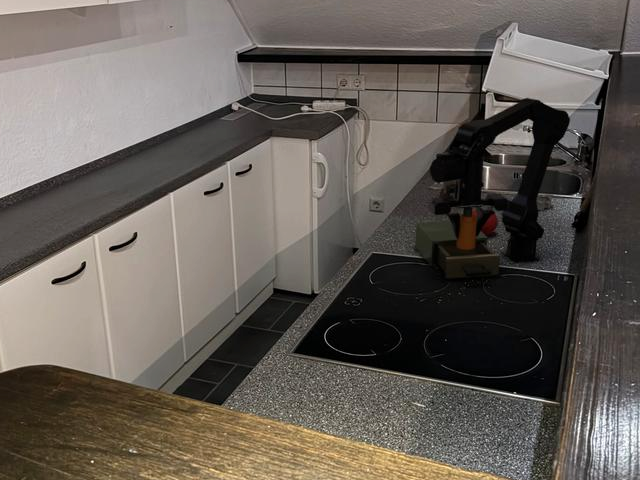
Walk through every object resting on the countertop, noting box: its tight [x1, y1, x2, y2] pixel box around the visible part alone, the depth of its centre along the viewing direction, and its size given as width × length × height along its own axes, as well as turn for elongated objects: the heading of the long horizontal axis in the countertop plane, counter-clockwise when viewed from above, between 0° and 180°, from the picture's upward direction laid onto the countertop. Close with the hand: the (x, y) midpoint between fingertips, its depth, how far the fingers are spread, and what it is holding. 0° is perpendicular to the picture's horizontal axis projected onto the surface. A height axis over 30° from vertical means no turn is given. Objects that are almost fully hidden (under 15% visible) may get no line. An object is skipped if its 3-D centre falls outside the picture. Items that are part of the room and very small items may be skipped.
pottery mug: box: [438, 180, 456, 201], centre depth 247 cm, size 12×10×8 cm
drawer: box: [435, 241, 501, 280], centre depth 192 cm, size 18×13×5 cm
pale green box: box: [415, 220, 488, 268], centre depth 204 cm, size 15×15×7 cm
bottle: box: [456, 208, 477, 250], centre depth 190 cm, size 5×5×10 cm
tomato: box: [472, 208, 499, 236], centre depth 218 cm, size 9×9×8 cm
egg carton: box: [514, 193, 554, 211], centre depth 241 cm, size 11×8×4 cm
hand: (466, 236), depth 190 cm, fingers closed on bottle, 5 cm apart
